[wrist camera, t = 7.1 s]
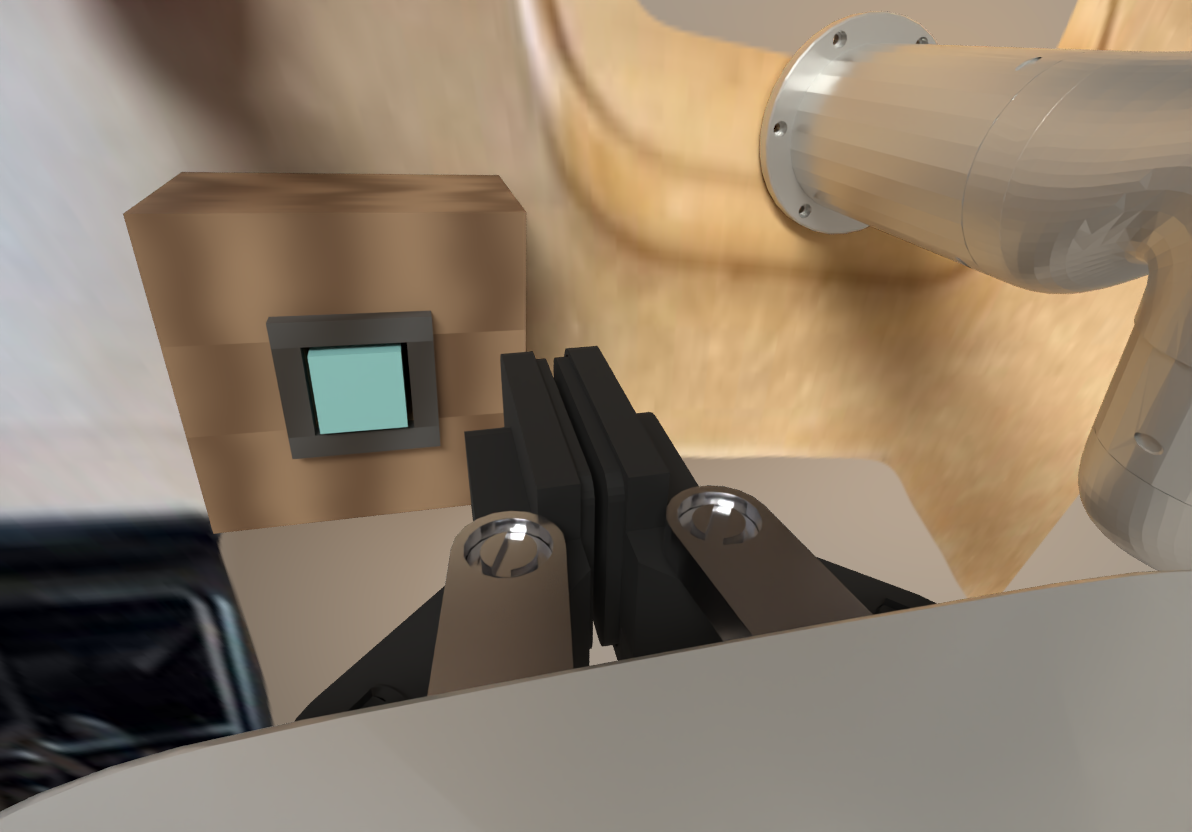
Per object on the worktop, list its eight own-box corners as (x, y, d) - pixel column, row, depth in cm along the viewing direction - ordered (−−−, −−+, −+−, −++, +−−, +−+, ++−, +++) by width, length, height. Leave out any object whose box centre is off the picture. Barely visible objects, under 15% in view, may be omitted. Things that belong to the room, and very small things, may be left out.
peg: (397, 283, 39) (400, 351, 31) (403, 347, 41) (407, 427, 33) (324, 285, 38) (307, 356, 30) (334, 350, 40) (320, 433, 32)
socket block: (498, 175, 38) (529, 216, 30) (502, 420, 46) (527, 507, 38) (181, 172, 34) (116, 218, 26) (244, 442, 42) (210, 543, 34)
